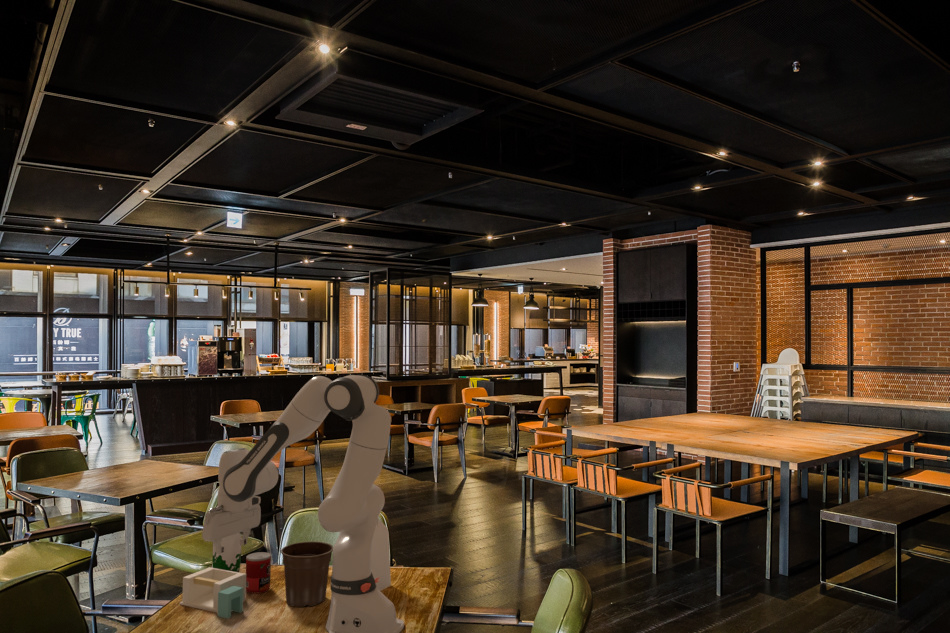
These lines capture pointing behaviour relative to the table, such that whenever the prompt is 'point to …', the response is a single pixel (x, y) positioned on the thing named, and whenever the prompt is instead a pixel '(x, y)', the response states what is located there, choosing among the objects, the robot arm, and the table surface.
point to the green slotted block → (230, 601)
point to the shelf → (209, 587)
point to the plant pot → (306, 572)
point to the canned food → (258, 572)
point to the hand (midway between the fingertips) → (231, 548)
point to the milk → (381, 556)
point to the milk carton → (228, 554)
